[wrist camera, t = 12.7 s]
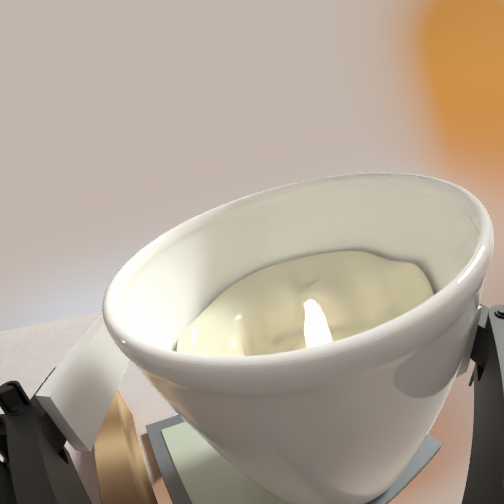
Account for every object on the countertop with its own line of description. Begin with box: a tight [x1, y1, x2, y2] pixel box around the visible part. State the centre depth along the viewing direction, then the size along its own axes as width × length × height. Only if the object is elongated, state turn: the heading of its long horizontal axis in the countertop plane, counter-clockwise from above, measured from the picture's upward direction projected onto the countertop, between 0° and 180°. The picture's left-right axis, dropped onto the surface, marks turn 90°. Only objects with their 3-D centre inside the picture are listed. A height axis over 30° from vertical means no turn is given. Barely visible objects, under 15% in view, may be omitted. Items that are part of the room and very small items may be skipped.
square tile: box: [146, 415, 443, 504], centre depth 12 cm, size 13×13×1 cm
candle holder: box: [102, 172, 494, 504], centre depth 9 cm, size 10×10×12 cm
